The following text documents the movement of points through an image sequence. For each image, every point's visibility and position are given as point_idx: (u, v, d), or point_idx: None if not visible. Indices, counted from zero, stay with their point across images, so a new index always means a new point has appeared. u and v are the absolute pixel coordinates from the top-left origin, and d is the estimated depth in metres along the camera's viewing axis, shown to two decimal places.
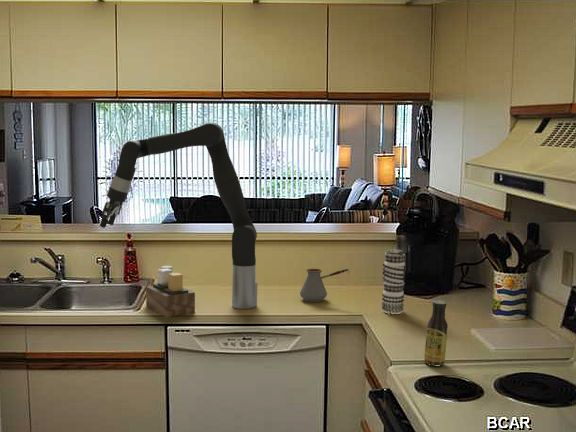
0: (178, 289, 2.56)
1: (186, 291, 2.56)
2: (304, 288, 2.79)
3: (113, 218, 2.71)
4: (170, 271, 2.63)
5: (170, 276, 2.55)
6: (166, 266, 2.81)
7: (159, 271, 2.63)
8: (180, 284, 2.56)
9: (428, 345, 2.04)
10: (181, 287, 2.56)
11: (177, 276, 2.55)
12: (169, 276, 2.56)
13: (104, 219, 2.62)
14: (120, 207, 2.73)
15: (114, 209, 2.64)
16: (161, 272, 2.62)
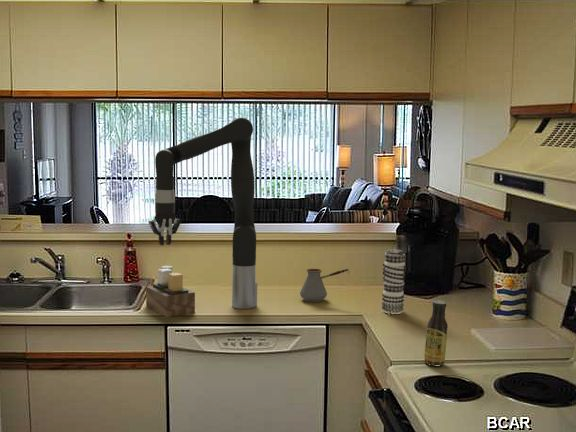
0: (178, 289, 2.56)
1: (186, 291, 2.56)
2: (304, 288, 2.79)
3: (167, 237, 2.62)
4: (170, 271, 2.63)
5: (170, 276, 2.55)
6: (166, 266, 2.81)
7: (159, 271, 2.63)
8: (180, 284, 2.56)
9: (428, 345, 2.04)
10: (181, 287, 2.56)
11: (177, 276, 2.55)
12: (169, 276, 2.56)
13: (159, 236, 2.60)
14: (176, 224, 2.63)
15: (162, 224, 2.59)
16: (161, 272, 2.62)
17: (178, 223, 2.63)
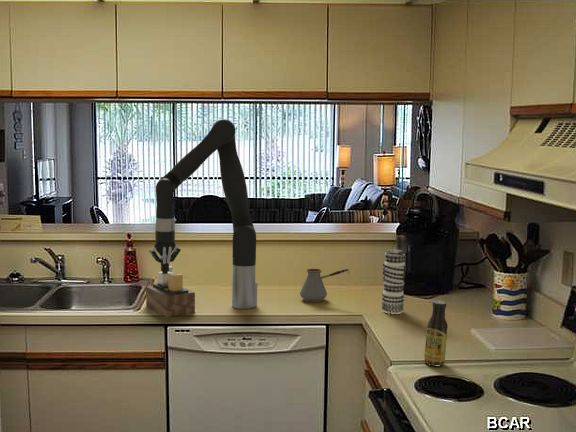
0: (178, 289, 2.56)
1: (186, 291, 2.56)
2: (304, 288, 2.79)
3: None
4: None
5: (170, 276, 2.55)
6: None
7: (159, 274, 2.63)
8: (180, 284, 2.56)
9: (428, 345, 2.04)
10: (181, 287, 2.56)
11: (177, 276, 2.55)
12: (169, 276, 2.56)
13: (161, 264, 2.62)
14: (175, 253, 2.64)
15: (163, 252, 2.60)
16: (161, 275, 2.62)
17: (177, 252, 2.64)
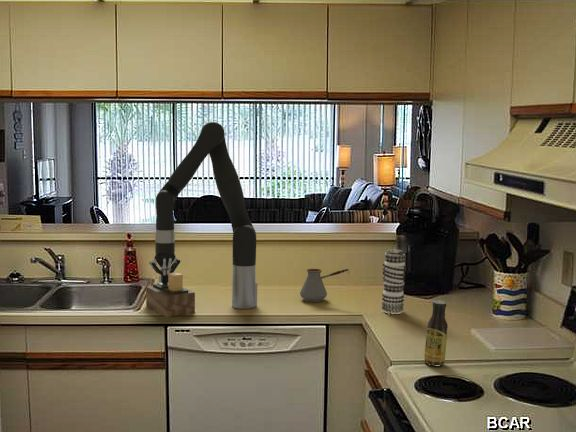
0: (178, 289, 2.56)
1: (186, 291, 2.56)
2: (304, 288, 2.79)
3: None
4: None
5: (170, 276, 2.55)
6: None
7: None
8: (180, 284, 2.56)
9: (428, 345, 2.04)
10: (181, 287, 2.56)
11: (177, 276, 2.55)
12: (169, 276, 2.56)
13: (161, 275, 2.63)
14: (175, 264, 2.65)
15: (163, 263, 2.61)
16: None
17: (177, 263, 2.65)
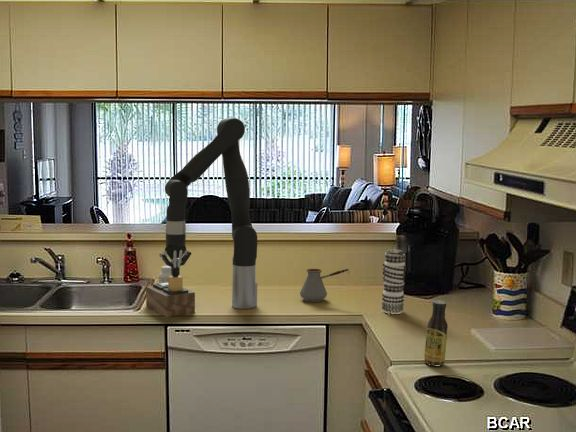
0: None
1: (186, 291, 2.56)
2: (304, 288, 2.79)
3: None
4: None
5: (170, 279, 2.56)
6: (166, 266, 2.81)
7: None
8: (180, 286, 2.56)
9: (428, 345, 2.04)
10: None
11: (177, 279, 2.55)
12: (169, 279, 2.56)
13: (172, 268, 2.55)
14: (186, 256, 2.57)
15: (173, 256, 2.53)
16: None
17: (188, 255, 2.57)
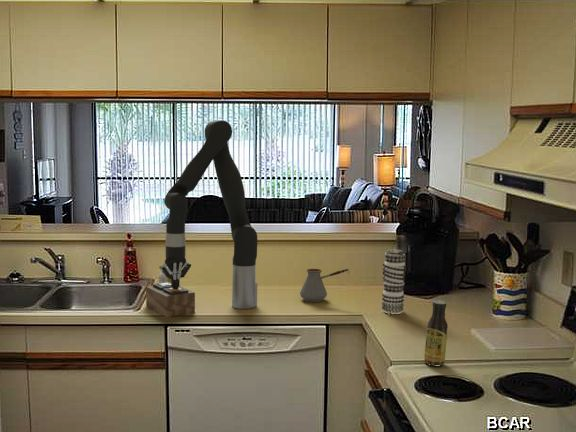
0: None
1: (186, 291, 2.56)
2: (304, 288, 2.79)
3: None
4: (170, 285, 2.63)
5: None
6: None
7: None
8: None
9: (428, 345, 2.04)
10: None
11: None
12: None
13: (172, 280, 2.56)
14: (186, 268, 2.57)
15: (173, 268, 2.54)
16: None
17: (188, 267, 2.58)
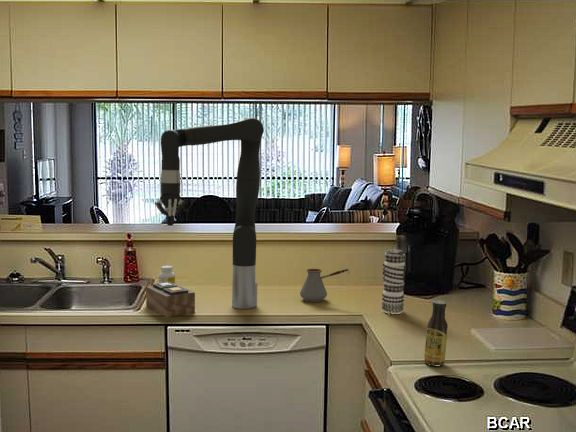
0: None
1: (186, 291, 2.56)
2: (304, 288, 2.79)
3: None
4: (170, 285, 2.63)
5: None
6: (166, 266, 2.81)
7: None
8: None
9: (428, 345, 2.04)
10: None
11: None
12: None
13: (167, 216, 2.61)
14: (180, 206, 2.63)
15: (168, 204, 2.59)
16: None
17: (182, 205, 2.64)
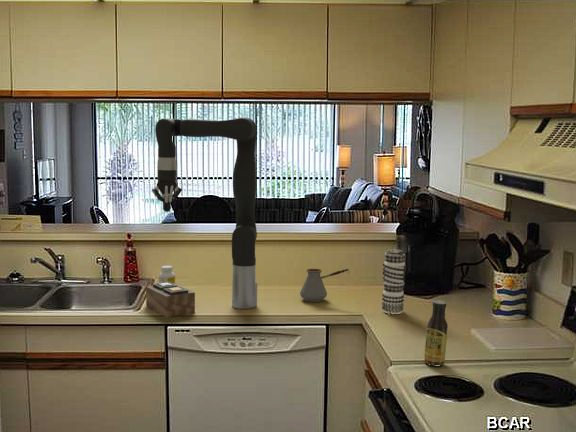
0: None
1: (186, 291, 2.56)
2: (304, 288, 2.79)
3: None
4: (170, 285, 2.63)
5: None
6: (166, 266, 2.81)
7: None
8: None
9: (428, 345, 2.04)
10: None
11: None
12: None
13: (163, 203, 2.69)
14: (177, 192, 2.71)
15: (165, 191, 2.67)
16: None
17: (179, 191, 2.71)
